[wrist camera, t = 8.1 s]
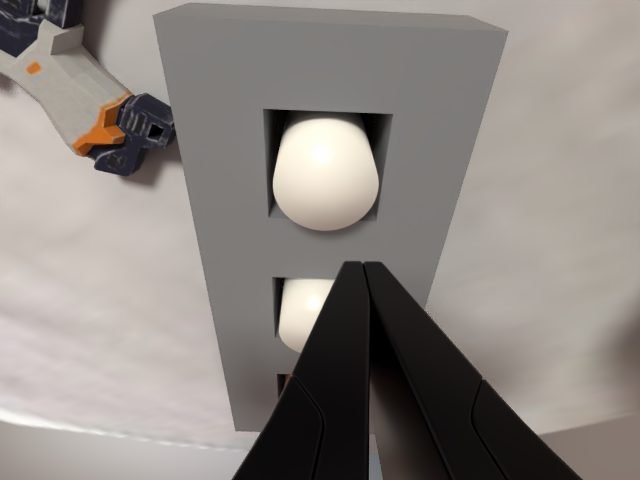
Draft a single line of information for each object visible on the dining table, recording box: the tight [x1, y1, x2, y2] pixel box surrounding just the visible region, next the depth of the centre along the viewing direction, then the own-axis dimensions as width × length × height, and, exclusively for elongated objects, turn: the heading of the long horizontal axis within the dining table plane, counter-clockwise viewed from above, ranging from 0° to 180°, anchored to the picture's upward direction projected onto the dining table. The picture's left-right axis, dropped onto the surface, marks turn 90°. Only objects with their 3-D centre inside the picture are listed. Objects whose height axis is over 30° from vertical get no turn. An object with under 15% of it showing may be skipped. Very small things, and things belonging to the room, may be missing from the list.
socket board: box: [153, 3, 509, 434], centre depth 21 cm, size 11×26×4 cm, turn 178°
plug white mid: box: [279, 277, 335, 353], centre depth 20 cm, size 4×4×5 cm
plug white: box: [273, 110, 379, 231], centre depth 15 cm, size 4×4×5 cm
